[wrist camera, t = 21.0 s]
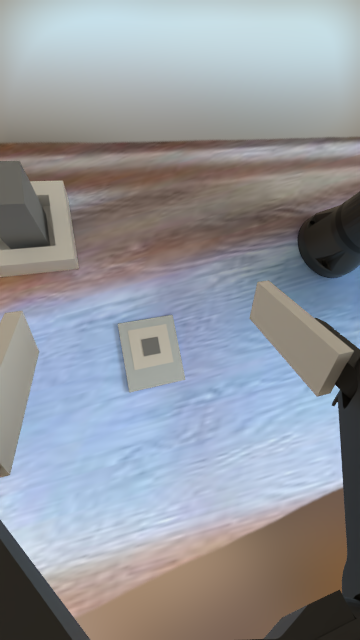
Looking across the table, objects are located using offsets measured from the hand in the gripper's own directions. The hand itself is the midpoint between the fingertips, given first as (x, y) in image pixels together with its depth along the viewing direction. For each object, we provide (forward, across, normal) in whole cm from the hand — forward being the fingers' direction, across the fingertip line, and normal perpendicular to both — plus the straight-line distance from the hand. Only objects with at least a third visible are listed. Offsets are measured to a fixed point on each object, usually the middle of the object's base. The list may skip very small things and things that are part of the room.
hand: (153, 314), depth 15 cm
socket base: (+38, -15, -6) cm, 41 cm away
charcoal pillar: (+37, -14, -5) cm, 40 cm away
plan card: (+22, +3, -23) cm, 32 cm away
